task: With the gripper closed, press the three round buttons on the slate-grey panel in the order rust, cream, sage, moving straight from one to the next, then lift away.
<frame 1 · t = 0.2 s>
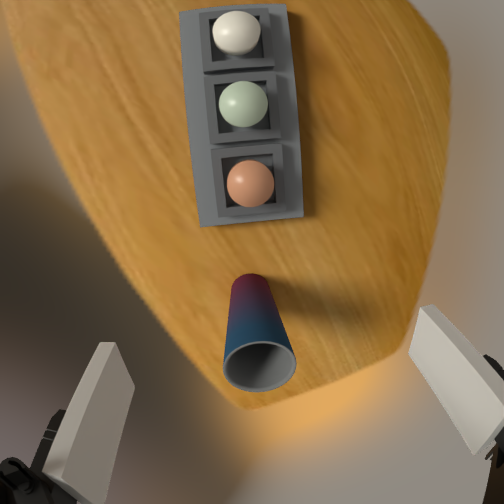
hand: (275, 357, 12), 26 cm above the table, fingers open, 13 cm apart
button sage: (243, 104, 27), point 5 cm above the table, slide at 0.0 cm
panel: (241, 109, 31), on the table
button cream: (236, 33, 24), point 5 cm above the table, slide at 0.0 cm
cup: (250, 289, 40), on the table
button rust: (250, 182, 30), point 5 cm above the table, slide at 0.0 cm
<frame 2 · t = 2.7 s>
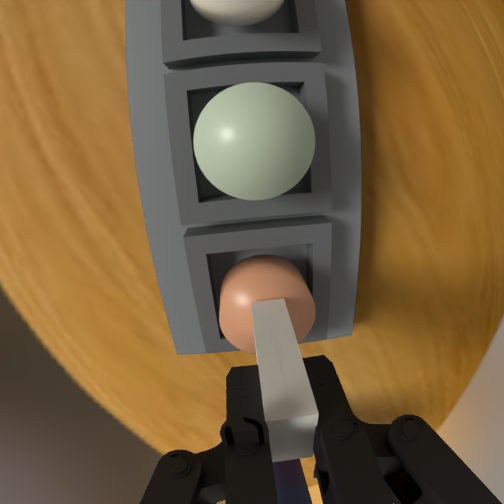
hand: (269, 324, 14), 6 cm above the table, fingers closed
button sage: (253, 140, 12), point 5 cm above the table, slide at 0.0 cm
panel: (247, 139, 16), on the table
cup: (258, 411, 25), on the table
button rust: (265, 305, 15), point 5 cm above the table, slide at 0.3 cm, touching gripper
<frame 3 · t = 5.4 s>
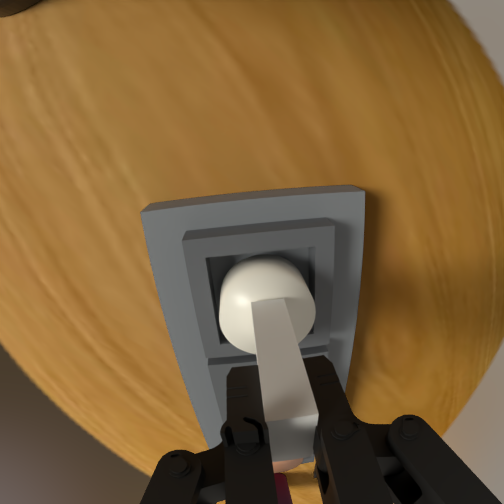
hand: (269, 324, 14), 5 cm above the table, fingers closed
panel: (266, 364, 22), on the table
button cream: (265, 305, 15), point 4 cm above the table, slide at 0.8 cm, touching gripper
cup: (266, 478, 31), on the table
button rust: (274, 451, 22), point 4 cm above the table, slide at 1.2 cm
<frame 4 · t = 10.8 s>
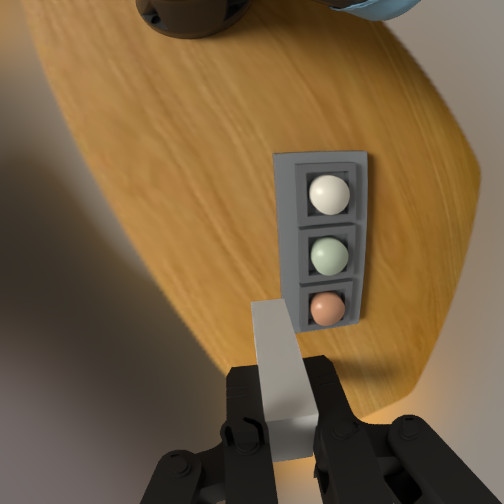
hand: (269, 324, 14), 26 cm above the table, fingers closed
button sage: (328, 255, 38), point 4 cm above the table, slide at 1.2 cm
panel: (321, 245, 41), on the table
button cream: (328, 193, 35), point 4 cm above the table, slide at 1.2 cm
button rust: (326, 307, 41), point 4 cm above the table, slide at 1.2 cm
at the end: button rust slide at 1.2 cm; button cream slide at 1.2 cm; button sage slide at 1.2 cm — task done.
